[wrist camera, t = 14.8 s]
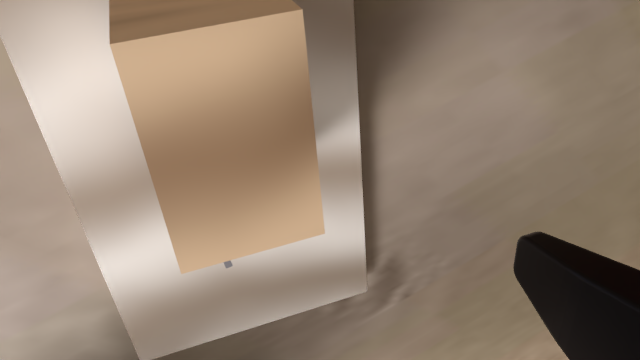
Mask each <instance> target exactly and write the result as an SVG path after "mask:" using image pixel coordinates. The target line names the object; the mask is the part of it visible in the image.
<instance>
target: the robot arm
mask: <svg viewBox="0 0 640 360" xmlns="http://www.w3.org/2000/svg"><path fill="white" fill-rule="evenodd" d="M514 273H515V276H516V278H517V280H518V282H519V283H520V285H521V287H522V288H523V290H524V291H525V293H526V295H527V296H528V298H529V300H530V301H531V303H532V304H533V306H534V308H535V309H536V311H537V312H538V314H539V316H540V317H541V319H542V320H543V322H544V324H545V325H546V327H547V328H548V330H549V332H550V333H551V335H552V336H553V338H554V339H555V341H556V342H557V344H558V345H559V346H560V348H561V349H562V350H563V352H564V353H565V354H566V356H567V357H568V358H569V360H640V270H637V269H635V268H632V267H630V266H627V265H625V264H622V263H620V262H617V261H614V260H612V259H609V258H607V257H604V256H602V255H599V254H597V253H594V252H591V251H589V250H586V249H584V248H581V247H579V246H576V245H574V244H571V243H568V242H566V241H563V240H561V239H558V238H556V237H553V236H551V235H548V234H545V233H543V232H533V233H530V234H527V235H524V236H522V237H520V238H519V240H518V242H517V248H516V254H515V260H514Z"/></svg>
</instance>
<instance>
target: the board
mask: <svg viewBox="0 0 640 360" xmlns="http://www.w3.org/2000/svg"><path fill="white" fill-rule="evenodd" d="M292 1H293V2H295V3H296V4H297V5H298V6H299V7H300V8H302V9H303V18H304V28H305V38H306V48H307V58H308V68H309V78H310V88H311V98H312V108H313V118H314V129H315V139H316V149H317V159H318V169H319V179H320V189H321V199H322V209H323V219H324V229H325V234H322V235H318V236H315V237H311V238H307V239H304V240H300V241H297V242H293V243H290V244H286V245H283V246H279V247H276V248H272V249H269V250H265V251H262V252H258V253H254V254H251V255H247V256H244V257H240V258H237V259H233V260H230V261H226V262H223V263H219V264H216V265H212V266H209V267H205V268H201V269H198V270H194V271H191V272H187V273H184V274H181V272H180V268H179V265H178V262H177V259H176V256H175V252H174V249H173V246H172V243H171V240H170V236H169V233H168V230H167V227H166V224H165V220H164V217H163V214H162V211H161V207H160V204H159V201H158V198H157V195H156V191H155V188H154V185H153V182H152V179H151V175H150V172H149V169H148V166H147V163H146V159H145V156H144V153H143V150H142V147H141V143H140V140H139V137H138V134H137V131H136V127H135V124H134V121H133V118H132V115H131V111H130V108H129V105H128V102H127V99H126V95H125V92H124V89H123V86H122V82H121V79H120V76H119V73H118V70H117V66H116V63H115V60H114V57H113V54H112V50H111V47H110V38H109V0H0V37H1V39H2V41H3V44H4V46H5V48H6V51H7V53H8V55H9V57H10V60H11V62H12V64H13V67H14V69H15V71H16V74H17V76H18V78H19V81H20V83H21V85H22V88H23V90H24V92H25V95H26V97H27V99H28V102H29V104H30V106H31V109H32V111H33V113H34V116H35V118H36V120H37V123H38V125H39V127H40V130H41V132H42V134H43V137H44V139H45V141H46V144H47V146H48V148H49V151H50V153H51V155H52V158H53V160H54V162H55V165H56V167H57V169H58V172H59V174H60V176H61V179H62V181H63V183H64V185H65V188H66V190H67V192H68V195H69V197H70V199H71V202H72V204H73V206H74V209H75V211H76V213H77V216H78V218H79V220H80V223H81V225H82V227H83V230H84V232H85V234H86V237H87V239H88V241H89V244H90V246H91V248H92V251H93V253H94V255H95V258H96V260H97V262H98V265H99V267H100V269H101V272H102V274H103V276H104V279H105V281H106V283H107V286H108V288H109V290H110V293H111V295H112V297H113V300H114V302H115V304H116V307H117V309H118V311H119V313H120V316H121V318H122V320H123V323H124V325H125V327H126V330H127V332H128V334H129V337H130V339H131V341H132V344H133V346H134V348H135V351H136V353H137V355H138V358H139V360H153V359H156V358H159V357H162V356H165V355H169V354H172V353H175V352H178V351H181V350H184V349H188V348H191V347H194V346H197V345H200V344H203V343H206V342H210V341H213V340H216V339H219V338H222V337H225V336H229V335H232V334H235V333H238V332H241V331H244V330H247V329H251V328H254V327H257V326H260V325H263V324H266V323H270V322H273V321H276V320H279V319H282V318H285V317H288V316H292V315H295V314H298V313H301V312H304V311H307V310H311V309H314V308H317V307H320V306H323V305H326V304H330V303H333V302H336V301H339V300H342V299H345V298H348V297H352V296H355V295H358V294H361V293H364V292H367V271H366V250H365V229H364V208H363V187H362V166H361V145H360V124H359V103H358V82H357V61H356V40H355V19H354V0H292Z"/></svg>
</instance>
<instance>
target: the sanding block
mask: <svg viewBox="0 0 640 360" xmlns="http://www.w3.org/2000/svg"><path fill="white" fill-rule="evenodd" d="M109 38H110V47H111V50H112V54H113V57H114V60H115V63H116V66H117V70H118V73H119V76H120V79H121V82H122V86H123V89H124V92H125V95H126V99H127V102H128V105H129V108H130V111H131V115H132V118H133V121H134V124H135V127H136V131H137V134H138V137H139V140H140V143H141V147H142V150H143V153H144V156H145V159H146V163H147V166H148V169H149V172H150V175H151V179H152V182H153V185H154V188H155V191H156V195H157V198H158V201H159V204H160V207H161V211H162V214H163V217H164V220H165V224H166V227H167V230H168V233H169V236H170V240H171V243H172V246H173V249H174V252H175V256H176V259H177V262H178V265H179V268H180V272H181V274H184V273H187V272H191V271H194V270H198V269H201V268H205V267H209V266H212V265H216V264H219V263H223V262H226V261H230V260H233V259H237V258H240V257H244V256H247V255H251V254H254V253H258V252H262V251H265V250H269V249H272V248H276V247H279V246H283V245H286V244H290V243H293V242H297V241H300V240H304V239H307V238H311V237H315V236H318V235H322V234H325V229H324V219H323V209H322V199H321V189H320V179H319V169H318V159H317V149H316V139H315V129H314V118H313V108H312V98H311V88H310V78H309V68H308V58H307V48H306V38H305V28H304V18H303V9H302V8H300V7H299V6H298V5H297V4H296V3H295V2H293V1H292V0H109Z"/></svg>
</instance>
